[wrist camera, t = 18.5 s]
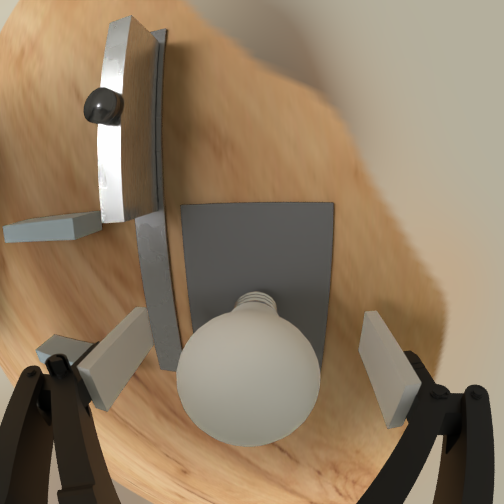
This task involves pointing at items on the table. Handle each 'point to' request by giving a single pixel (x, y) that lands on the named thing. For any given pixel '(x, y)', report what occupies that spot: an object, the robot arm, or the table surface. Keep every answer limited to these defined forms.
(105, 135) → the latch bar
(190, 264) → the mat
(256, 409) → the light bulb
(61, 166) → the table surface
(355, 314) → the table surface
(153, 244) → the track
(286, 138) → the table surface
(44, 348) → the channel
